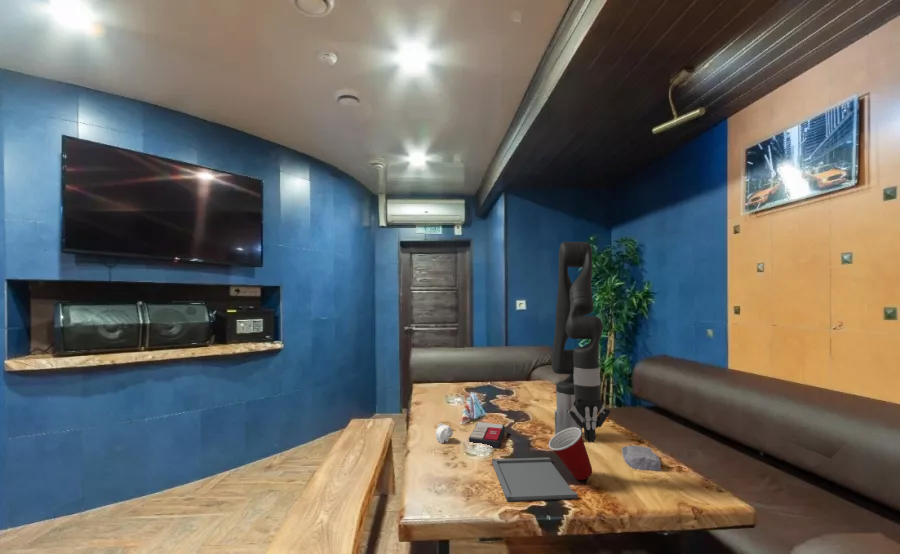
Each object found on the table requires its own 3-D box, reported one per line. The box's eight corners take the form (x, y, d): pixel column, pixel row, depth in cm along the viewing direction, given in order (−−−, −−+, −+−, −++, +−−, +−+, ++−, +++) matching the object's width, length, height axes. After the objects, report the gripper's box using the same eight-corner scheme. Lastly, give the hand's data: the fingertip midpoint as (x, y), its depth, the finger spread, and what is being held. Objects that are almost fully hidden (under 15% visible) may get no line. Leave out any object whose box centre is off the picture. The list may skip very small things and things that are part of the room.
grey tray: (549, 461, 116) (549, 457, 116) (577, 499, 94) (577, 494, 94) (492, 463, 115) (492, 459, 115) (507, 501, 93) (507, 497, 93)
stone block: (630, 476, 110) (665, 472, 109) (626, 459, 111) (660, 455, 109) (620, 460, 122) (650, 456, 120) (616, 445, 123) (647, 441, 121)
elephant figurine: (457, 441, 133) (457, 425, 133) (440, 446, 128) (440, 430, 128) (447, 435, 138) (447, 420, 138) (430, 441, 133) (430, 424, 134)
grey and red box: (468, 436, 129) (477, 420, 144) (468, 448, 129) (477, 431, 144) (498, 439, 126) (504, 423, 140) (498, 451, 126) (504, 434, 140)
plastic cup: (578, 458, 113) (561, 424, 113) (607, 464, 104) (588, 427, 104) (558, 481, 107) (540, 445, 108) (587, 490, 98) (566, 451, 98)
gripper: (601, 378, 111) (605, 435, 110) (560, 380, 110) (563, 438, 109) (614, 384, 104) (618, 445, 103) (570, 386, 103) (573, 447, 102)
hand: (590, 441), depth 106 cm, fingers closed
